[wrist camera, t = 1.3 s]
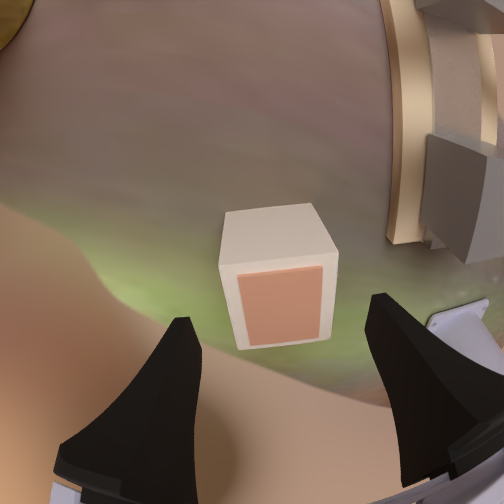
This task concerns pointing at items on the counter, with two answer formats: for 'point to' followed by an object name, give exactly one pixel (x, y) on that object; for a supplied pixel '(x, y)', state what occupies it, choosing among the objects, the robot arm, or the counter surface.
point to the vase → (12, 18)
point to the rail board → (445, 126)
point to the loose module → (278, 276)
